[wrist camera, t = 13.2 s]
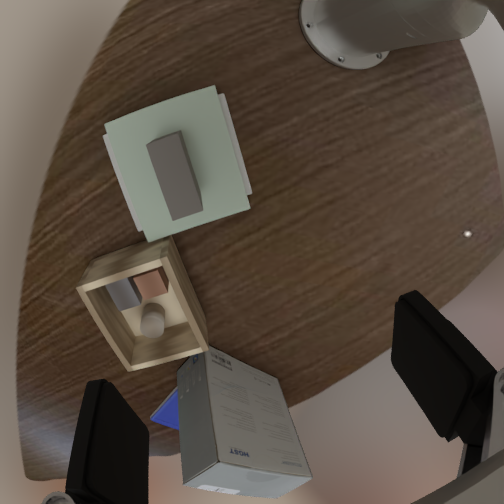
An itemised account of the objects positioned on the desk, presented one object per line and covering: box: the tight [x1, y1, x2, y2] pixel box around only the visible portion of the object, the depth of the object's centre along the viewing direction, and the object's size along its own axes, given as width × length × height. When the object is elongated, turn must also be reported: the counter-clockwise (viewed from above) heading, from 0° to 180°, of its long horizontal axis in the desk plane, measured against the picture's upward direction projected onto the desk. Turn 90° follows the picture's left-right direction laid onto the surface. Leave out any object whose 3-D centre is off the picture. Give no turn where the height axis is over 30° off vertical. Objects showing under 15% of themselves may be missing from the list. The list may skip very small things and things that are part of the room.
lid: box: [104, 85, 251, 243], centre depth 30 cm, size 12×14×9 cm
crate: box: [76, 235, 209, 372], centre depth 37 cm, size 11×13×7 cm
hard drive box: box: [177, 346, 313, 498], centre depth 40 cm, size 16×8×20 cm, turn 50°
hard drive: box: [150, 387, 179, 430], centre depth 50 cm, size 2×8×12 cm
